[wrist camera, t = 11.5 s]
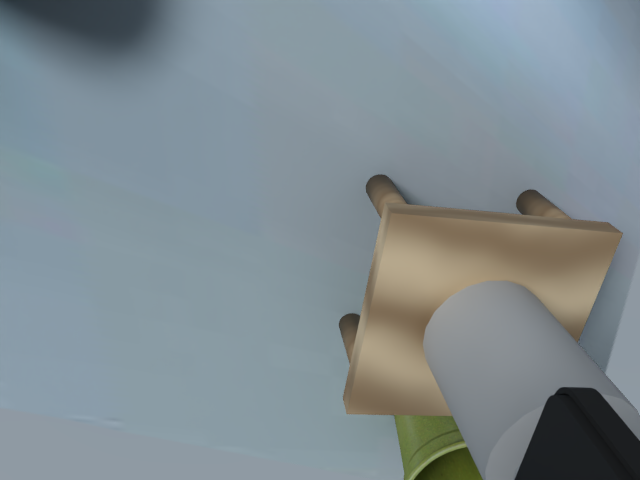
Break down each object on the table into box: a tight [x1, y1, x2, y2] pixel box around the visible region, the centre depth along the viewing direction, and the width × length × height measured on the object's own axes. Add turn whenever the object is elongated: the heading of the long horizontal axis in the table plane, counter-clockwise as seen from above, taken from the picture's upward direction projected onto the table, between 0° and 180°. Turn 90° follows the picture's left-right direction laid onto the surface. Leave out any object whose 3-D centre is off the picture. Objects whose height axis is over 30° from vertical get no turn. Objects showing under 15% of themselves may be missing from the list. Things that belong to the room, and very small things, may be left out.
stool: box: [339, 175, 623, 416], centre depth 39 cm, size 14×14×8 cm
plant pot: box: [394, 415, 483, 480], centre depth 45 cm, size 9×9×9 cm
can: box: [423, 281, 640, 480], centre depth 30 cm, size 8×8×12 cm
